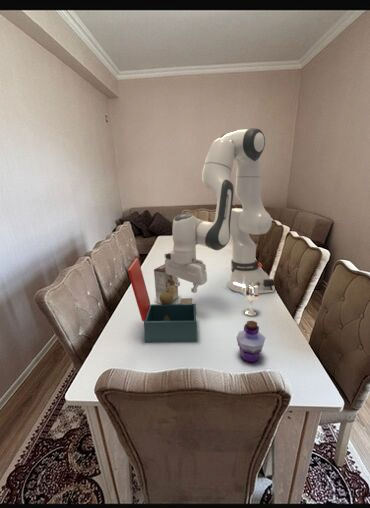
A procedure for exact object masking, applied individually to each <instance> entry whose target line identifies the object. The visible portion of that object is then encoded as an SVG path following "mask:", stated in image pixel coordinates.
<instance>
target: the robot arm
mask: <svg viewBox="0 0 370 508" xmlns="http://www.w3.org/2000/svg"><path fill="white" fill-rule="evenodd" d="M265 147H266V137H265V134H264V133H263V131H262V130H261V129H260V128H255V127H251V128H248V129H238V130H235V131H232V132H229V133H224V134H222V135H220V136H218V138H217V139H214V140H213V141H212V143H211V144H210V147H209V149H208V152H207V154H206V156H205V161H204V164H203V168H202V171H201V181H202V184H203V185H204V187H205V188H206V189H208V190H209V191H211V192H212V193H214V195H215V196H216V200H217V201H216V208H215V216H214V217H215V218H214V221H213V222H212V221H207V220H203V219H200V218H198V217H196V216H194V214H192V213H180V214H178V215H176V216H174V218H173V221H172V235H171V236H172V242H173V247H172V250H171V251H168V252H165V253H164V258H165V259H164V264H165V271H166V273H167V274H169V275H172V278H173V280H174V282H175V286H177V287H178V288H179V287H180V286H181V282H180V280H184V281H187V282H189V283H192V286H193V287H191V288H190V289H191V293H193V294H196V293H197V292H198V287H199V286H202V285H205V284H206V283H207V282H208V274H207V265H206V264H205V262H204V261H203V260H200V259H197V245H198V246H203V247H207V248H209V249H211V250H214V251H221V250H222V249H224V248H225V247H226V246H227V245H228V244H229V243H230V241H231V246H232V249H231V250H232V254H231V256H232V257H231V258H232V259H231V262H230V278H229V282H228V285H227V287H228V288H229V289H230V290H232V291H234V292H236V293H241V294H242V295H244V290H245V287H246V285H247V284H249V283H253V284H256V285H258V288H259V294H268V293H274V292H276V291H275V290H276V288H275V287H276V286H275V280H274V279H273V278H270V276H269V274H268V273H267V272H266V271H265V270H264V269H262V267H263V264H262V263H261V262H260V261H259V260H257V259H256V256H257V245H256V243H255V242H254V240H252V238H251V236H250V235H254V236H255V235H257V236H258V235H266V234H267V233H268V232H269V231H270V230H271V227H272V223H273V219H272V217H271V215H270V213H269V212H268V211H267V210H266V209H265V207H264V204H263V200H262V196H261V193H262V192H261V189H262V177H263V175H262V173H263V166H262V165H263V164H262V156H261V155H262V154H263V152H264V150H265ZM235 161H236V163H237V165H236V172H235V174H236V175H235V186H234V184H233V183H232V181H231V176H232V172H233V171H232V170H233V167H234V162H235ZM234 187H235V189H234ZM234 195H235V198H237V199H238V200H239V201H240V204H241V206H242V207H241V208H240V207H239V208H238V207H233V203H234ZM179 279H180V280H179Z"/></svg>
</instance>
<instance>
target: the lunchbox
mask: <svg viewBox="0 0 370 508" xmlns="http://www.w3.org/2000/svg"><path fill="white" fill-rule="evenodd" d="M165 315H168V317H169V319H170V321H163V320H164V317H165ZM197 327H198V326H197V304H196V303H192V304H180V303H172V304H161V303H157V304H156V303H154V304H153V303H152V304H151V303H150V306H149V309H148V312H147V315H146V318H145V321H143V332H144V343H197V342H198V339H197V338H198V337H197V336H198V335H197V334H198V333H197V332H198V331H197Z"/></svg>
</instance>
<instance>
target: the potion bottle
mask: <svg viewBox="0 0 370 508" xmlns="http://www.w3.org/2000/svg"><path fill="white" fill-rule="evenodd" d="M266 339H267V338H266V337H265V336H264V335H263V334H262V333H261V332H260V326H259V325H258V322H257V321H255V320H247V321H246V323H245V324H244V326H243V330H240V331H238V333H237V336H236V343H237V346H238V347H239V354H240V358H241V359H242V361H243V362H246V363H250V364H253V363H254V364H255V363H257V362H259V359H260V353H262V351H263V347H264V345H265V341H266Z"/></svg>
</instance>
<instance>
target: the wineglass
mask: <svg viewBox="0 0 370 508" xmlns="http://www.w3.org/2000/svg"><path fill="white" fill-rule="evenodd" d="M243 296H244V299H245V300H247V301H249V309H246V310H245V311H244V314H245V315H247V316H251V317H253V316H256V315H257V312H256V310H253V309H252V305H253V302H255V301H257V300H258V299H259V297H260V293H259V288H258V285H256V284H253V283H249V284H247V285H246V287H245V290H244V294H243Z"/></svg>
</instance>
